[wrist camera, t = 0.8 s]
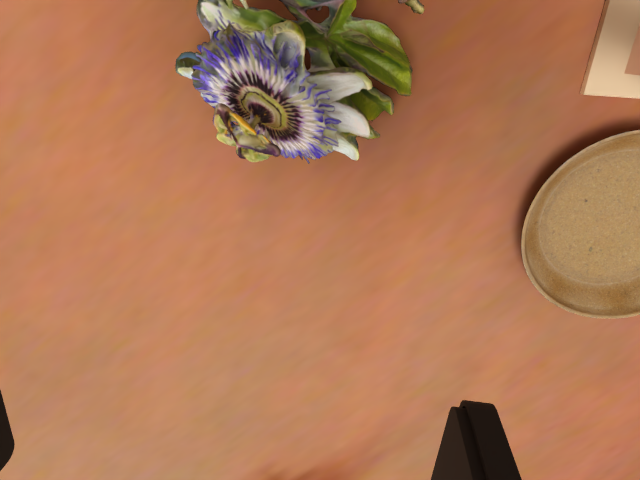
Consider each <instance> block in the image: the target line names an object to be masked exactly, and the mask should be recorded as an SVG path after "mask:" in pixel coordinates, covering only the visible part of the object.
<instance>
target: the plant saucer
mask: <svg viewBox="0 0 640 480" xmlns="http://www.w3.org/2000/svg"><path fill="white" fill-rule="evenodd" d="M521 252H522V259H523V263H524V267H525V269H526V272H527V274H528V277H529V278H530V280H531V282H532V283H533V285H534V286H535V287H536V289H537V290H538V291H539V292H540V293H541V294H542V295H543V296H544V297H545V298H546V299H547V300H549V301H550V302H552V303H553V304H555V305H556V306H558V307H560V308H562V309H564V310H567V311H569V312H571V313H575V314H578V315H581V316H586V317H591V318H605V319H608V318H615V319H617V318H626V317H631V316H636V315H640V130H634V131H629V132H624V133H621V134H617V135H614V136H611V137H608V138H606V139H603V140H601V141H598V142H596V143H594V144H592V145H590V146H588V147H587V148H585V149H583V150H582V151H580V152H579V153H577V154H575V155H574V156H572V157H571V158H570V159H568V160H567V161H566V162H565V163H564V164H562V165H561V166H560V167H559V168H558V169H557V170H556V171H555V172H554V173H553V174H552V175H551V176H550V177H549V178H548V179H547V181H546V182H545V183H544V184H543V186H542V187H541V188H540V190H539V191H538V193H537V195H536V196H535V198H534V200H533V202H532V204H531V206H530V208H529V210H528V212H527V215H526V218H525V221H524V225H523V230H522V237H521Z"/></svg>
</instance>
